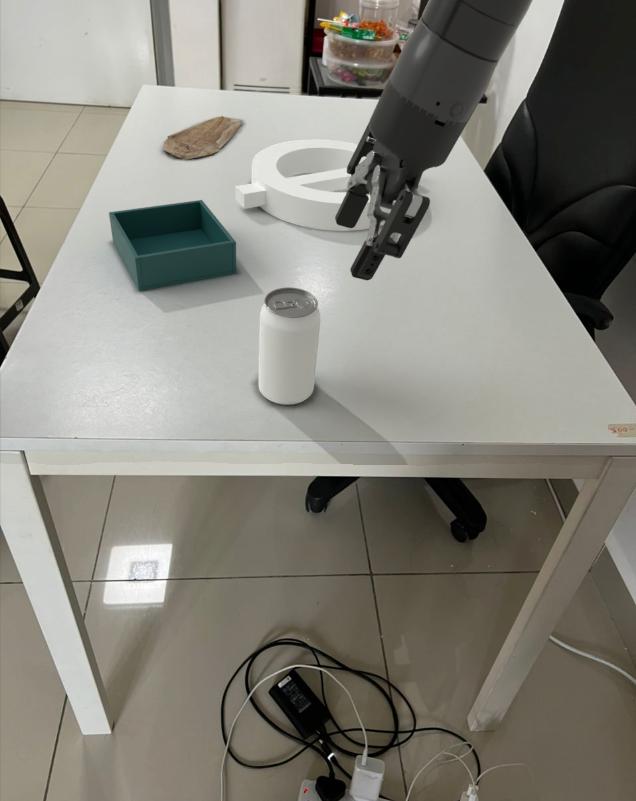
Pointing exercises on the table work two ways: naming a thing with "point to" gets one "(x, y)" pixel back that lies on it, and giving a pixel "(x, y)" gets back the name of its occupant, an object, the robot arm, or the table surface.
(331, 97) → the table surface
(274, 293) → the can
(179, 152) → the fish fossil
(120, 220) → the teal open storage bin
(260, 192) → the ring with crossbar
